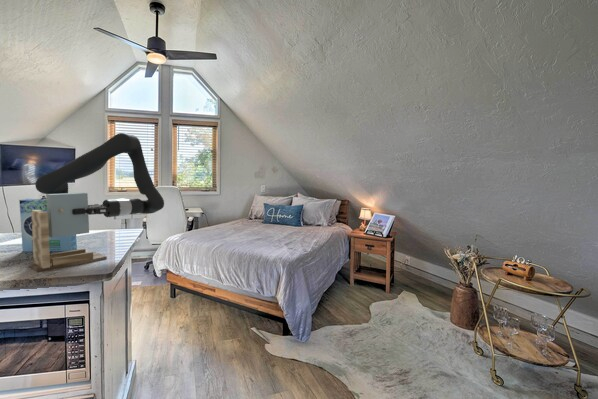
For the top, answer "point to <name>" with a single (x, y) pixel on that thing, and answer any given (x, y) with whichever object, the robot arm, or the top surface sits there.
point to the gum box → (26, 228)
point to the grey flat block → (67, 214)
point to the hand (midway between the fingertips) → (70, 211)
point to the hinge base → (55, 260)
